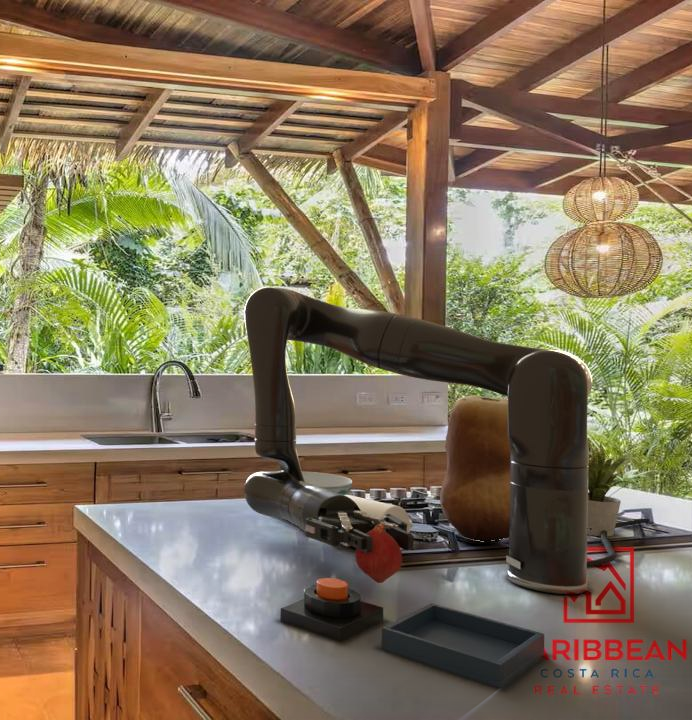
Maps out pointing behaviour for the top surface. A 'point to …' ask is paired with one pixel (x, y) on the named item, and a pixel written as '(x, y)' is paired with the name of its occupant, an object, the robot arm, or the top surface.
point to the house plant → (603, 492)
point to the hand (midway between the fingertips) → (390, 543)
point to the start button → (332, 588)
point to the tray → (464, 643)
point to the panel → (332, 614)
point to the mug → (381, 510)
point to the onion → (380, 556)
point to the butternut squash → (478, 469)
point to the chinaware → (329, 482)
